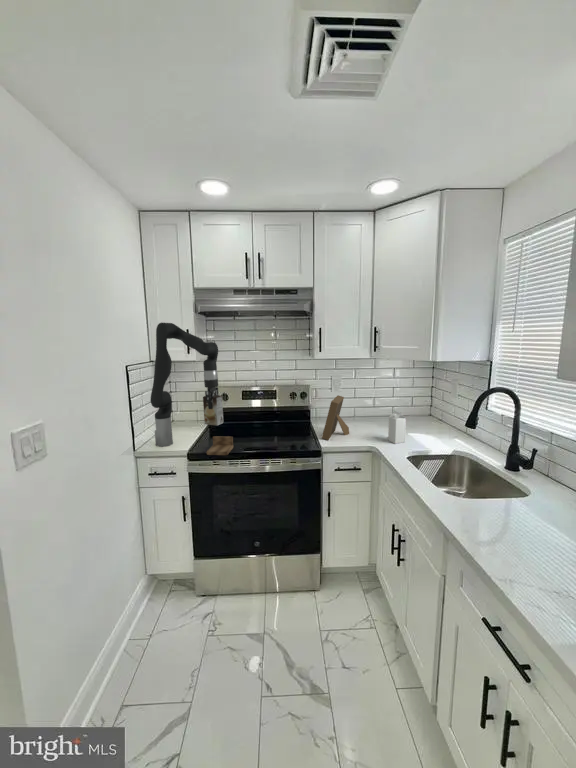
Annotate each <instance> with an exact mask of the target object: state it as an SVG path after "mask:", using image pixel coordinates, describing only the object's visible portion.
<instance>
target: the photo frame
mask: <svg viewBox="0 0 576 768" xmlns="http://www.w3.org/2000/svg"><path fill="white" fill-rule="evenodd" d="M344 399H345V397H344V396H342V395H336V396H335V397H334V398H333V399H332V400H331V401H330V404H329V409H328V413H327V416H326V421H325V424H324V428H323V432H322V436H321V439H323V440H326V441H329V440H330V439H331V437H332V436H333V435H334V434H335V432H336V430H337V426H338V423H339V426H340V428H341V431H342V432H343V435H344V436H348V435H350V429H349V428H350V427H349V426H348V425H347V423H345V421H344V420H343V418H341V416H340V413H341V411H342V407H343V402H344Z"/></svg>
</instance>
